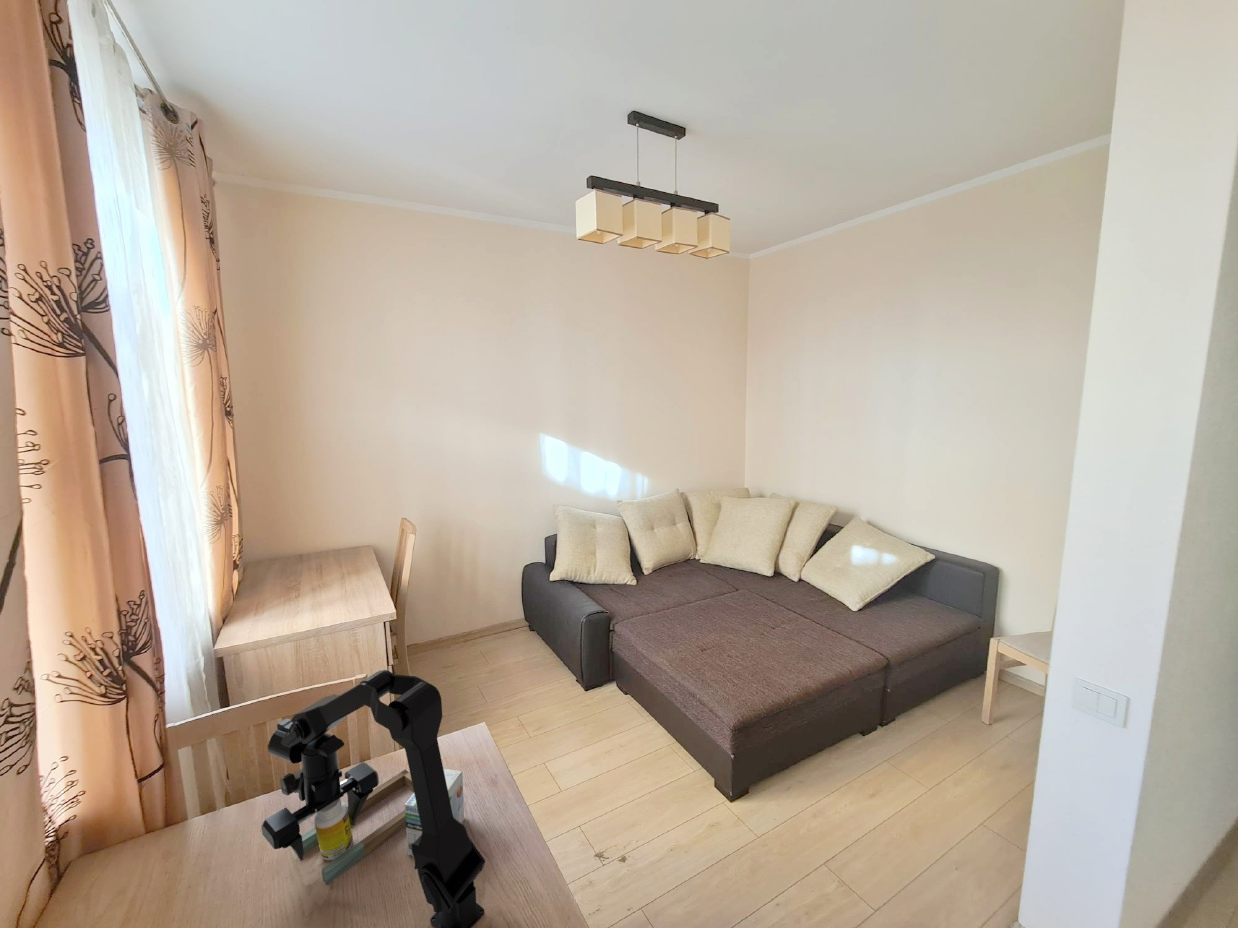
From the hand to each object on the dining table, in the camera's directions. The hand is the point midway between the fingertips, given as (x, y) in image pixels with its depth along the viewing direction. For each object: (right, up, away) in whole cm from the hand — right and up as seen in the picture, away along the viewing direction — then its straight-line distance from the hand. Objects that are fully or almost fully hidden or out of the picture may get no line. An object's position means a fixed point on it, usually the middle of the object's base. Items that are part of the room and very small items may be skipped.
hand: (327, 840), depth 98 cm
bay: (+5, -2, +7) cm, 9 cm away
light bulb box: (+19, -3, +5) cm, 20 cm away
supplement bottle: (+1, -3, +2) cm, 3 cm away
